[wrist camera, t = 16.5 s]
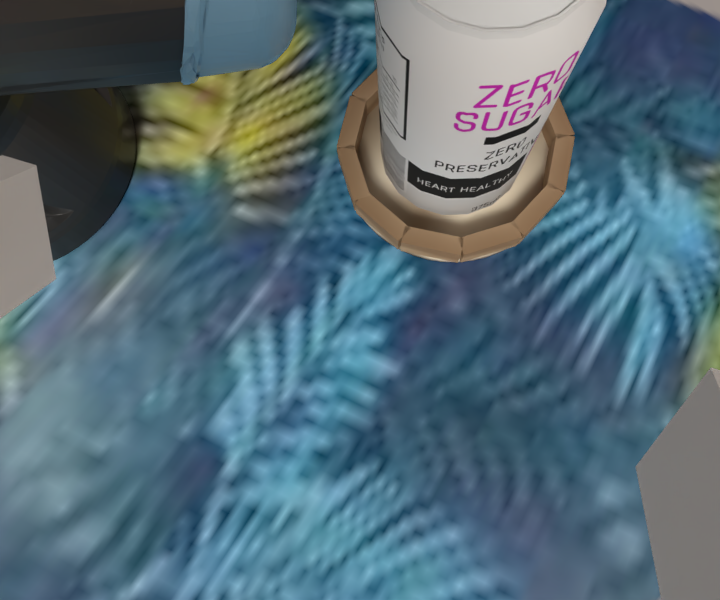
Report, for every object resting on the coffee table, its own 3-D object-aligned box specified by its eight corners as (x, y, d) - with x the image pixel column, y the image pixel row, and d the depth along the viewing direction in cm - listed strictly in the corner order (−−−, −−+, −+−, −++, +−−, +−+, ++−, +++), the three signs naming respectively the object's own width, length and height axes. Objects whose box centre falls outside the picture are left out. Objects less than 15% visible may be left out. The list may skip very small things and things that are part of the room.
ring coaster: (320, 236, 33) (315, 224, 31) (370, 47, 35) (369, 24, 33) (540, 283, 31) (550, 273, 29) (576, 83, 34) (587, 61, 32)
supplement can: (437, 68, 34) (472, -199, 19) (548, 144, 32) (677, -83, 18) (353, 164, 33) (322, -40, 18) (464, 247, 31) (527, 96, 17)
